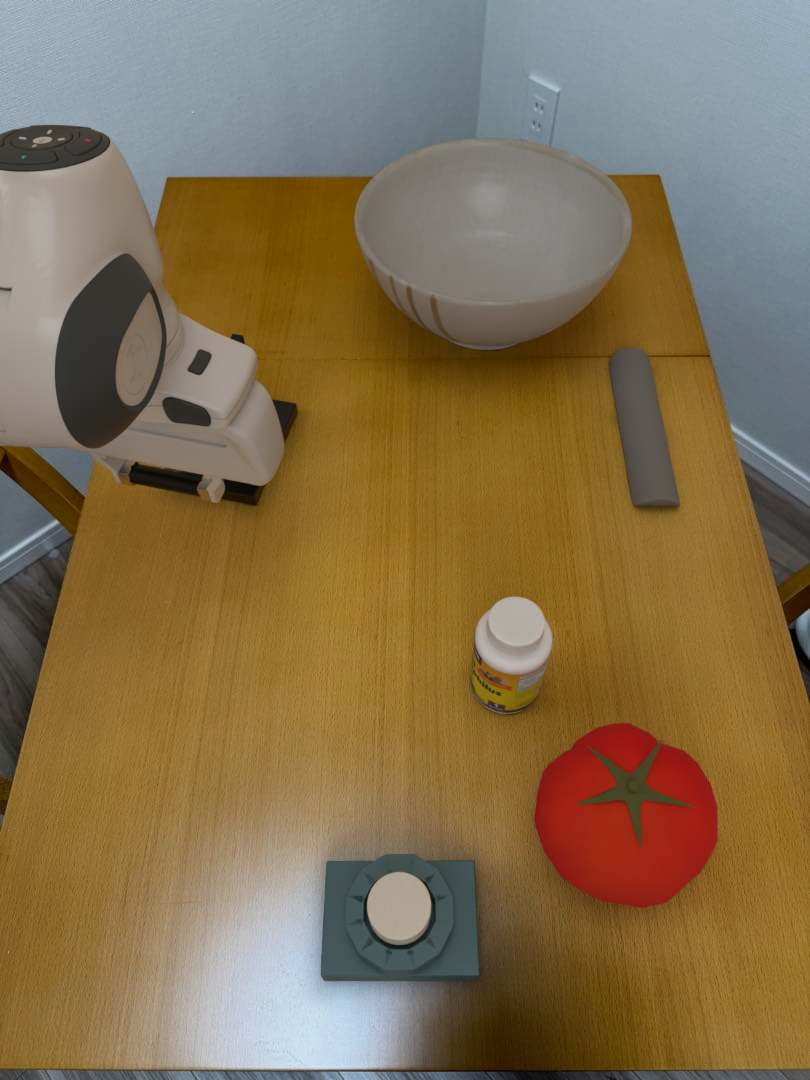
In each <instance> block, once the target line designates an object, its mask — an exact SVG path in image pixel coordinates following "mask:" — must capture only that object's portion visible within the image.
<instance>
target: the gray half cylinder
mask: <svg viewBox="0 0 810 1080" xmlns="http://www.w3.org/2000/svg"><path fill="white" fill-rule="evenodd" d="M608 368H609V374H610V379H611V386H612V390H613V391H612V392H613V397H614V404H615V408H616V414H617V415H616V416H617V420H618V426H619V432H620V437H621V444H622V448H623V449H622V450H623V455H624V462H625V468H626V473H627V478H628V484H629V490H630V496H631V502H632V503H633V504H634V506H639V507H640V506H641V507H645V506H646V507H649V506H650V507H679V506H681V502H680V496H679V492H678V486H677V482H676V478H675V474H674V473H675V472H674V467H673V464H672V459H671V455H670V454H671V453H670V450H669V444H668V440H667V435H666V430H665V426H664V421H663V417H662V412H661V407H660V402H659V397H658V393H657V388H656V383H655V379H654V374H653V369H652V364H651V359H650V357H649V355H648V353H647V352H646V351H644V350H643V349H641V348H638V347H625V348H623V349H620V350H617V351H616V352H615V353H614V354H612V356H611V357H610V359H609V367H608Z"/></svg>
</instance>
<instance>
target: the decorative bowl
mask: <svg viewBox="0 0 810 1080" xmlns="http://www.w3.org/2000/svg"><path fill="white" fill-rule="evenodd" d="M353 223H354V224H353V226H354V233H355V236H356V240H357V243H358V247H359V249H360V252H361V254H362V257H363V259H364V261H365V263H366V265H367V268H368V269H369V271H370V273H371V274H372V276H373V278H374V280H375V281H376V283H377V284H378V286H379V287H380V288H381V290H382V292H383V293H384V294H385V296H386V297H387V298H388V299H389V300H390V301H391V303H393V305H394V306H395V307H396V308H397V309H398V310H399V311H400V312H401V313H402V314H404V316H406V317H408V319H409V320H411V321H412V322H413V323H415V324H416V325H418V326H420V327H421V328H423V329H425V330H426V331H428V332H429V333H432V334H434V335H435V336H437V337H439V338H440V337H441V338H443V339H444V340H447V341H449V342H450V343H453V344H455V345H458V346H461V347H464V348H467V349H472V350H479V351H482V350H483V351H494V350H502V349H506V348H510V347H511V348H512V347H513V346H516V345H518V344H521V343H525V342H528V341H532V340H535V339H539V338H540V337H542V336H544V335H547V334H549V333H551V332H553V331H555V330H556V329H559V328H560V327H562V326H564V325H565V324H567V323H568V322H569V321H570V320H572V319H573V318H575V317H576V316H577V315H578V314H580V312H582V311H583V310H584V309H585V308H586V307H587V306H589V305H590V303H591V302H592V301H593V300H595V298H596V297H597V296H598V295H599V294H600V293H601V291H602V290H603V289H604V287H605V286H606V285H607V284H608V282H610V280H611V278H612V277H613V275H614V274H615V272H616V271H617V269H618V268H619V265H620V264H621V262H622V261H623V258H624V257H625V255H626V252H627V250H628V248H629V245H630V243H631V238H632V235H633V234H632V233H633V217H632V213H631V209H630V206H629V203H628V201H627V199H626V197H625V195H624V194H623V192H622V190H621V189H620V188H619V187H618V185H617V184H616V183H615V182H614V181H613V180H612V179H611V178H610V177H609V176H608V175H607V174H605V172H603V171H602V170H601V169H599V168H598V167H596V166H595V165H593V164H592V163H590V162H589V161H587V160H585V159H583V158H582V157H579V156H577V155H575V154H572V153H570V152H568V151H565V150H563V149H560V148H557V147H555V146H550V145H547V144H543V143H539V142H534V141H529V140H524V139H515V138H505V137H473V138H463V139H455V140H450V141H444V142H439V143H434V144H431V145H429V146H428V145H427V146H425V147H422V148H420V149H419V148H418V149H416V150H414V151H411V152H409V153H407V154H405V155H402V156H401V157H399V158H397V159H395V160H394V161H392V162H390V163H389V164H387V165H386V166H384V167H383V168H382V169H381V170H379V171H378V172H377V173H376V174H375V175H374V176H373V177H372V178H371V179H370V180H369V181H368V182H367V184H366V185H365V186H364V188H363V189H362V191H361V193H360V195H359V197H358V199H357V202H356V204H355V209H354V216H353Z"/></svg>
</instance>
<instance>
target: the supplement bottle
mask: <svg viewBox="0 0 810 1080" xmlns="http://www.w3.org/2000/svg"><path fill="white" fill-rule="evenodd" d="M552 649H553V633H552V629H551V627H550V625H549V623H548V621H547V619H546V618H545V615H544V613H543V611H542V609H541V608H540V607H539V605H538V604H537V603H535V602H534V601H532V600H530V599H528V598H526V597H522V596H507V597H504V598H502V599H500V600H498V601H497V602H495V603H494V604H493V605H492V607H491V608H489V609H488V610H487V611H486V612H485V613H484V614H483V615H482V616H481V617H480V619H479V620H478V622H477V624H476V627H475V631H474V639H473V648H472V655H471V666H470V674H469V684H470V688H471V690H472V693H473V695H474V697H475V698H476V700H477V701H478V702H479V703H480V704H481V705H482V706H484V707H485V708H486V709H488V710H490V711H491V712H494V713H498V714H502V715H503V714H504V715H513V714H518V713H520V712H523V711H525V710H527V709H528V708H529V707H531V706H532V705H533V704H534V702H535V701H536V700H537V698H538V696H539V695H540V692H541V688H542V686H543V681H544V678H545V675H546V671H547V667H548V664H549V660H550V656H551V653H552Z"/></svg>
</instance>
